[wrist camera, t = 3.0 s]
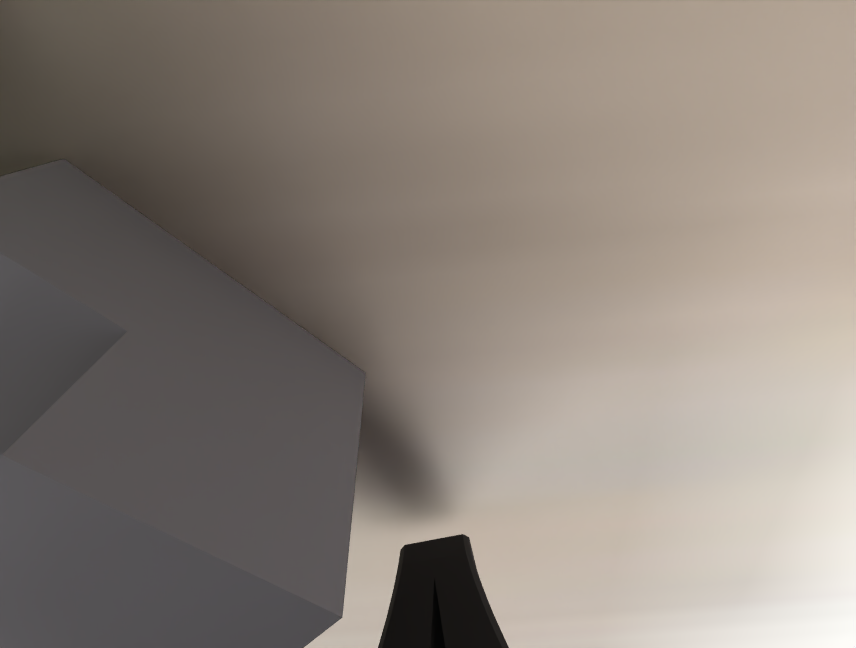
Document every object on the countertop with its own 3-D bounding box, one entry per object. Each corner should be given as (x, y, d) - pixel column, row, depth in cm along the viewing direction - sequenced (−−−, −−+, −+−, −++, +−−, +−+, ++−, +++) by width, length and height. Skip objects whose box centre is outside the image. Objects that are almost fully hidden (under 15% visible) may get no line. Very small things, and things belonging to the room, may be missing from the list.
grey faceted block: (68, 157, 8) (-369, 277, 3) (366, 370, 10) (342, 616, 5) (-35, 327, 9) (-456, 583, 5) (250, 485, 11) (153, 764, 7)
